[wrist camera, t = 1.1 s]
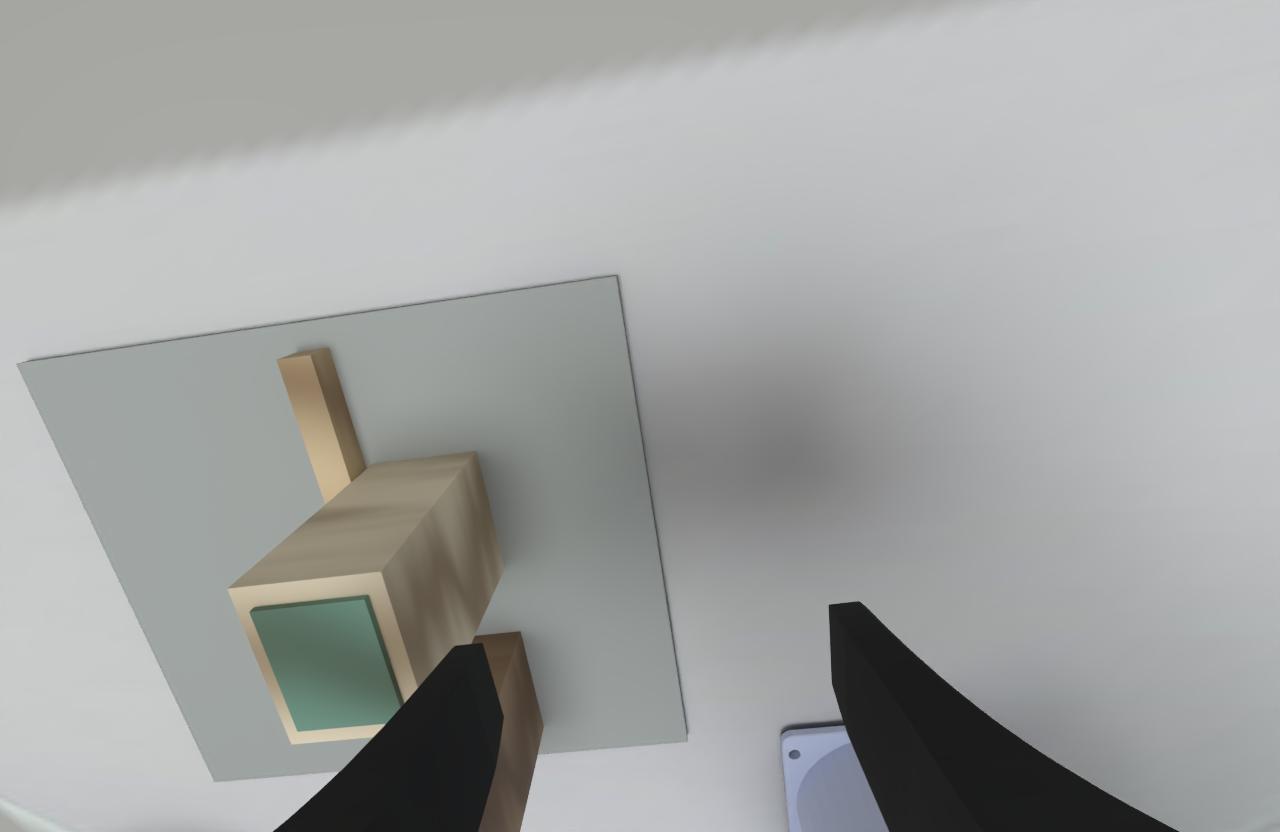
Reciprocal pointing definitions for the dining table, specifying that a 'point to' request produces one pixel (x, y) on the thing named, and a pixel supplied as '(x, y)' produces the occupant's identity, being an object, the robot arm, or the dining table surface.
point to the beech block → (371, 595)
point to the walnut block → (512, 732)
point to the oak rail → (323, 419)
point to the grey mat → (386, 431)
